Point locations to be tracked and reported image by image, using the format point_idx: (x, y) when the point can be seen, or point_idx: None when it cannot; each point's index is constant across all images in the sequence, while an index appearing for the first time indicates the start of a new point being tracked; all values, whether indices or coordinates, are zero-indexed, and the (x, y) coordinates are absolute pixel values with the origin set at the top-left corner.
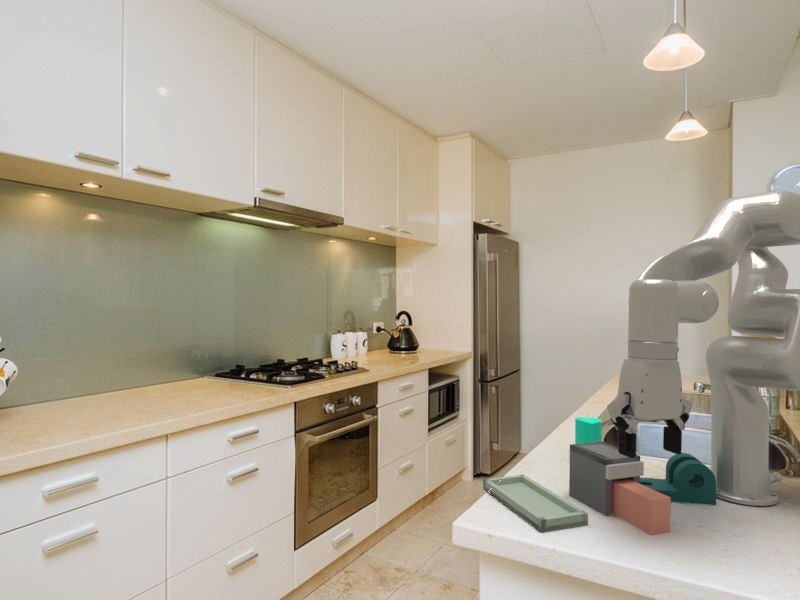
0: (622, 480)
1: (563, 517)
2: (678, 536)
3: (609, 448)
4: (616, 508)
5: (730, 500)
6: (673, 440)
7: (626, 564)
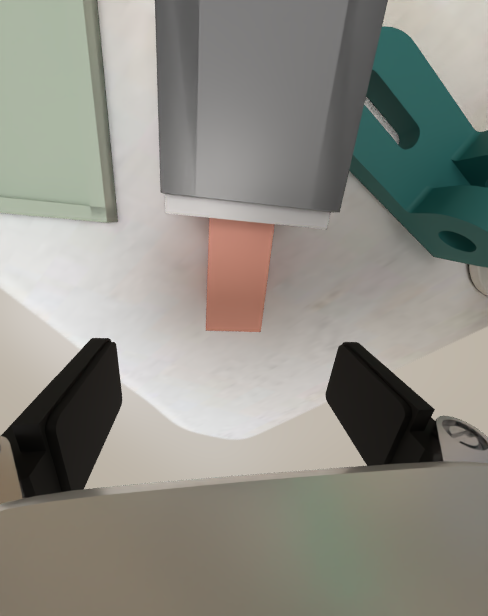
0: None
1: (29, 214)
2: None
3: (322, 39)
4: None
5: None
6: (352, 418)
7: None
